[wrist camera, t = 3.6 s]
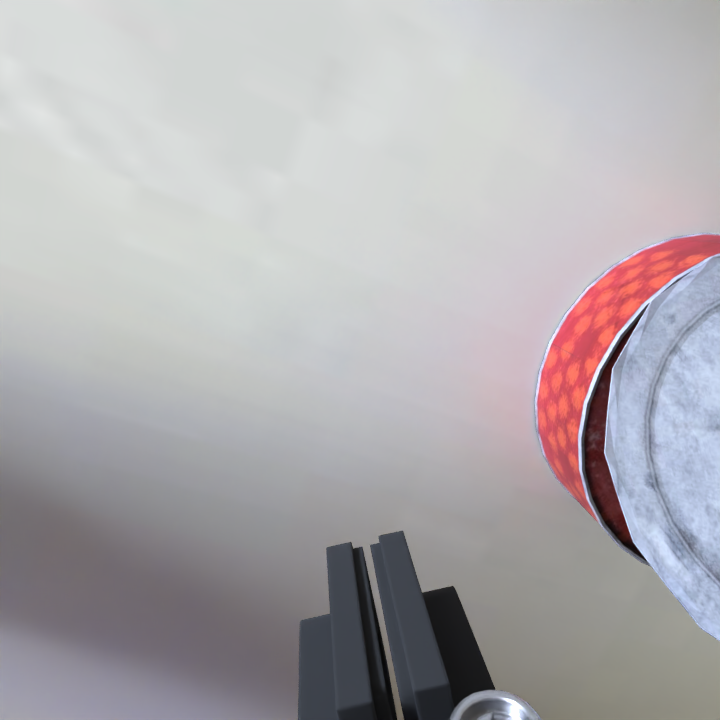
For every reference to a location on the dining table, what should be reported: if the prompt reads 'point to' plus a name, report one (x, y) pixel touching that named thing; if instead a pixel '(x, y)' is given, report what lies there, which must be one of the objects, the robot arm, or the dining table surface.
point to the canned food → (645, 413)
